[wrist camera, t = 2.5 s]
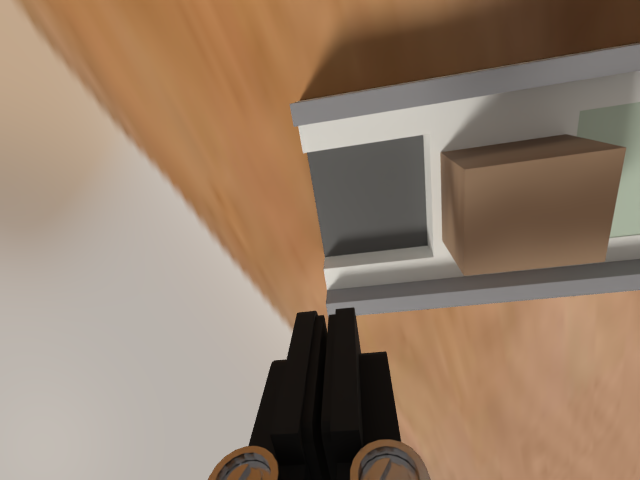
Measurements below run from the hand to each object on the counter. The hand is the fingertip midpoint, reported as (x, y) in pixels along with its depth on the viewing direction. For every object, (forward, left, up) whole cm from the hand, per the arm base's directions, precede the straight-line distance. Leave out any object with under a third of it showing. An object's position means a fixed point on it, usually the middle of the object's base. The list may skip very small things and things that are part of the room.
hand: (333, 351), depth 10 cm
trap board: (-1, +12, -12) cm, 17 cm away
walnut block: (-1, +9, -10) cm, 14 cm away
